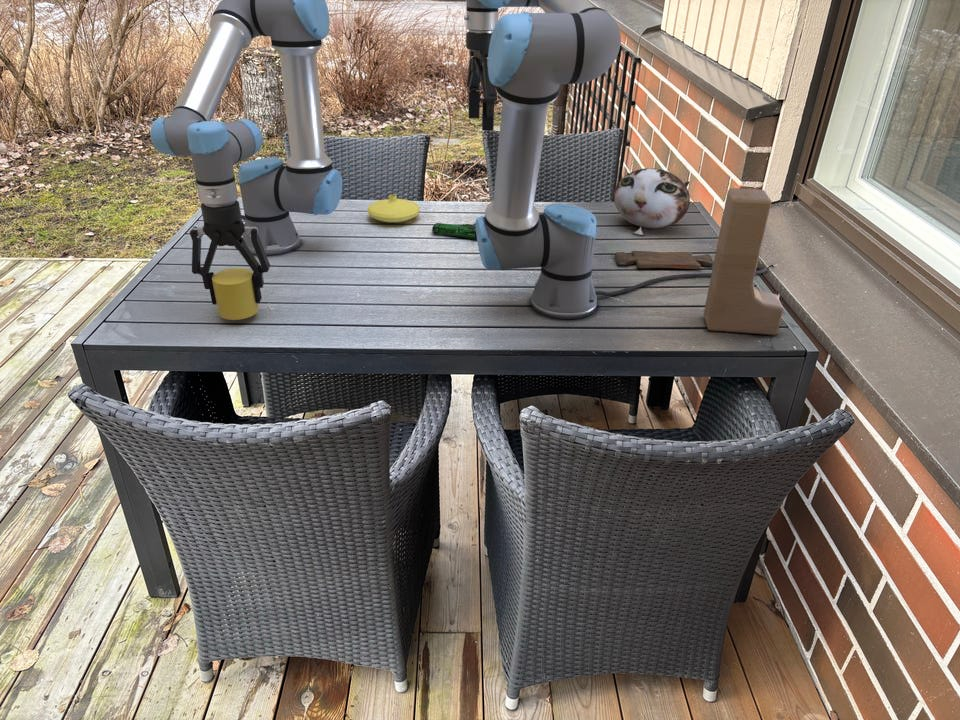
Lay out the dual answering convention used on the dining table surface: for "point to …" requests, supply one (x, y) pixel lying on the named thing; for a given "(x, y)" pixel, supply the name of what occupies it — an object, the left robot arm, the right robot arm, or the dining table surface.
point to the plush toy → (651, 198)
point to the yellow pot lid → (393, 210)
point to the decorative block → (741, 269)
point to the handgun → (456, 230)
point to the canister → (235, 293)
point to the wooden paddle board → (663, 259)
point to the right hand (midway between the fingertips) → (480, 124)
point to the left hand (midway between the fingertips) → (237, 301)
